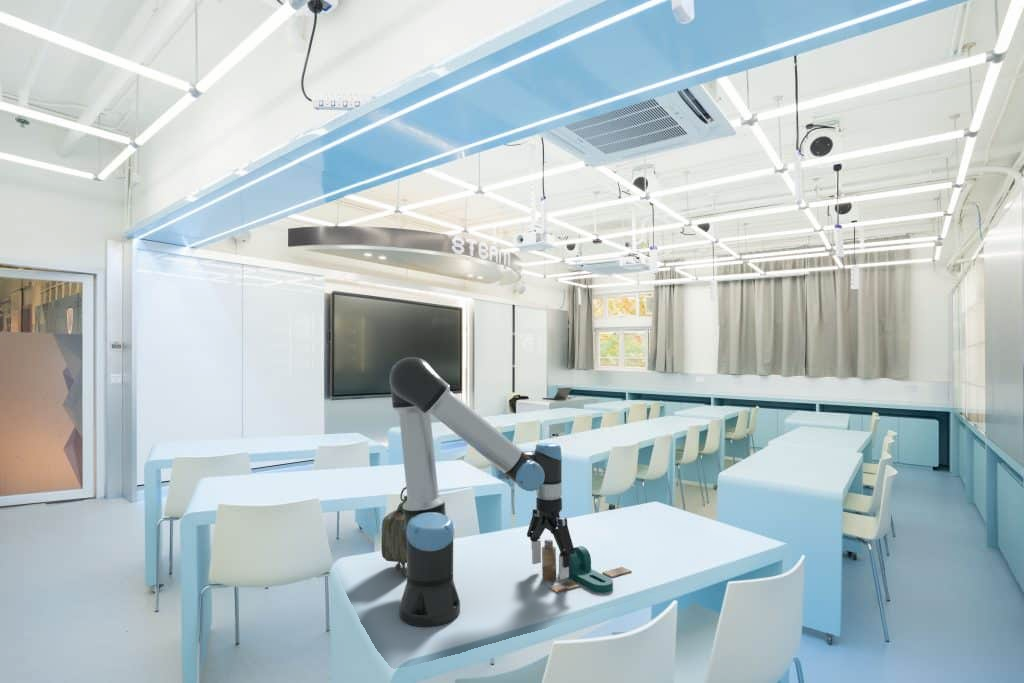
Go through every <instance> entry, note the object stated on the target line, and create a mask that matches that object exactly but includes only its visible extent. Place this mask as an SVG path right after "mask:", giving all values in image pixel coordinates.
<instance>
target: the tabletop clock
mask: <svg viewBox="0 0 1024 683" xmlns="http://www.w3.org/2000/svg"><path fill="white" fill-rule="evenodd" d="M406 490H407V489H406V486H405V487H404V488H402V489H401V492H400V495H399V496H400V501H401V502H400V503H399V505H398V506H397V507H396V508H397V509H396V510H393V511H392V512H389V513H388V514H386V516H385V517H384V518H383V520H382V523H381V535H380V536H381V537H380V538H381V539H380V540H381V541H380V542H381V543H380V544H381V556H382V558H383V559H384V560H386V562H395V563H397V564H395V569H397V570H400V569H401V568H402V570H403V571H402V572H401V576H402V577H404V578H405V577H406V578H407V570H406V564H407V545H406V537H405V533H404V516H403V505H404V503H405V502H406V501H407V495H405V496H403V493H404V492H405V491H406Z"/></svg>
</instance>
